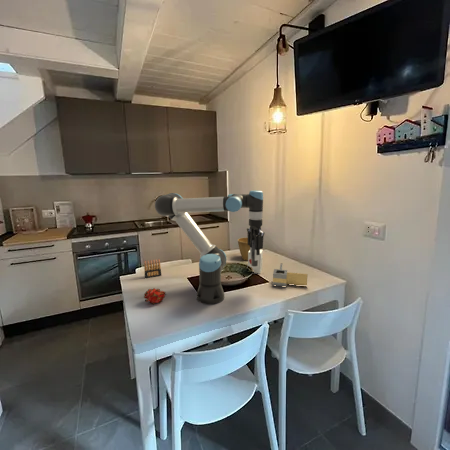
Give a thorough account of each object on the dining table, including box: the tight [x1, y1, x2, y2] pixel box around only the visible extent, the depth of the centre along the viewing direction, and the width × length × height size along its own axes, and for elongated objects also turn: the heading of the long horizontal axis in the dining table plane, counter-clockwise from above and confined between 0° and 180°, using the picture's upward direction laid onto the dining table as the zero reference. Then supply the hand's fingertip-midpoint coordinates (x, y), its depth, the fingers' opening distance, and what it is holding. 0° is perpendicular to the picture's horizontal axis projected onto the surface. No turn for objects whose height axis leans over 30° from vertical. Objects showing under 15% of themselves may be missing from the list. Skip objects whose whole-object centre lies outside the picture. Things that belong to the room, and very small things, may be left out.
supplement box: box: [247, 249, 264, 275], centre depth 185 cm, size 9×9×15 cm
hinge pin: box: [251, 239, 258, 266], centre depth 152 cm, size 4×4×15 cm
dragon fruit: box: [143, 287, 167, 305], centre depth 142 cm, size 8×8×12 cm
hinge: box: [272, 263, 308, 287], centre depth 169 cm, size 20×20×8 cm
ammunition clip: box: [143, 258, 162, 279], centre depth 176 cm, size 11×2×12 cm, turn 115°
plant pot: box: [237, 237, 250, 262], centre depth 210 cm, size 15×15×16 cm
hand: (254, 258), depth 152 cm, fingers closed on hinge pin, 3 cm apart
